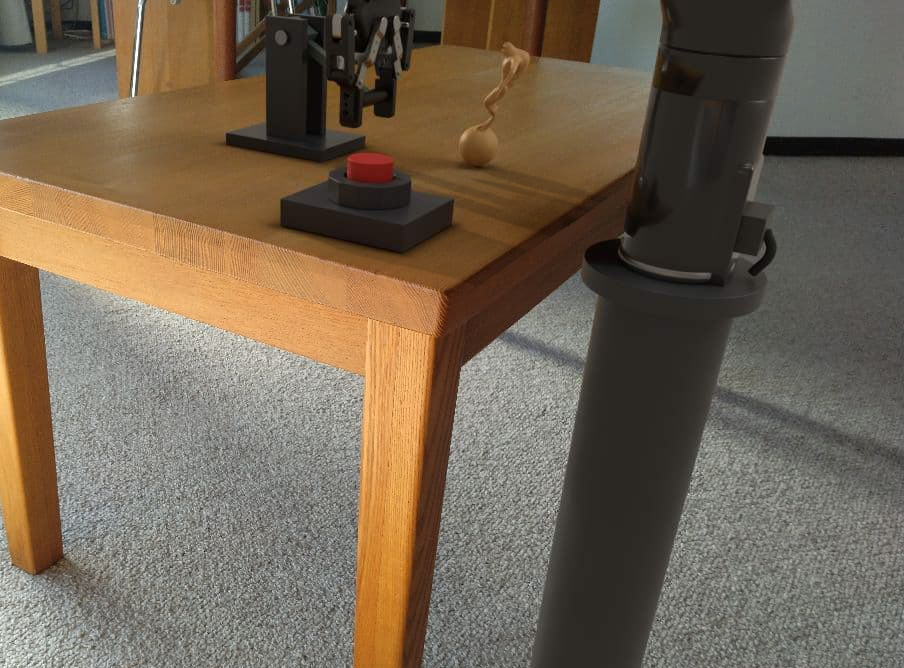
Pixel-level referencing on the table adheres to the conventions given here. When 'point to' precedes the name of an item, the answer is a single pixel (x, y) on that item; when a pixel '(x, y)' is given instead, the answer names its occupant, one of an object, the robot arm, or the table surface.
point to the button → (370, 168)
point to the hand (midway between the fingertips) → (367, 121)
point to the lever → (319, 55)
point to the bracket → (295, 97)
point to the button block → (368, 211)
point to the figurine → (492, 110)
